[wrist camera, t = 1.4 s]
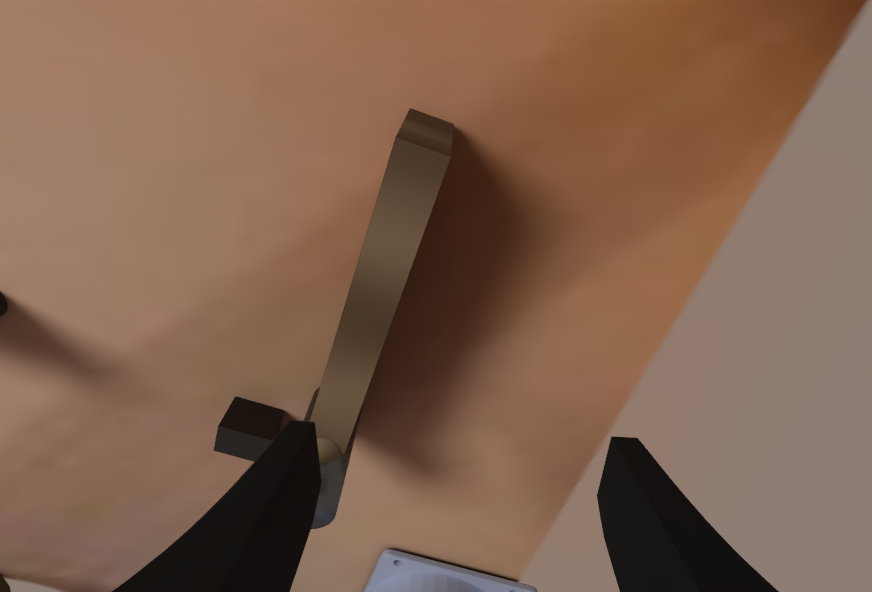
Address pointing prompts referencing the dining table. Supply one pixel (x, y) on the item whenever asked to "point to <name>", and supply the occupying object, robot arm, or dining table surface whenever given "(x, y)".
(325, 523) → the hammer
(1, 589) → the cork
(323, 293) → the dining table surface
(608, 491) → the robot arm
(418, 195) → the handle
